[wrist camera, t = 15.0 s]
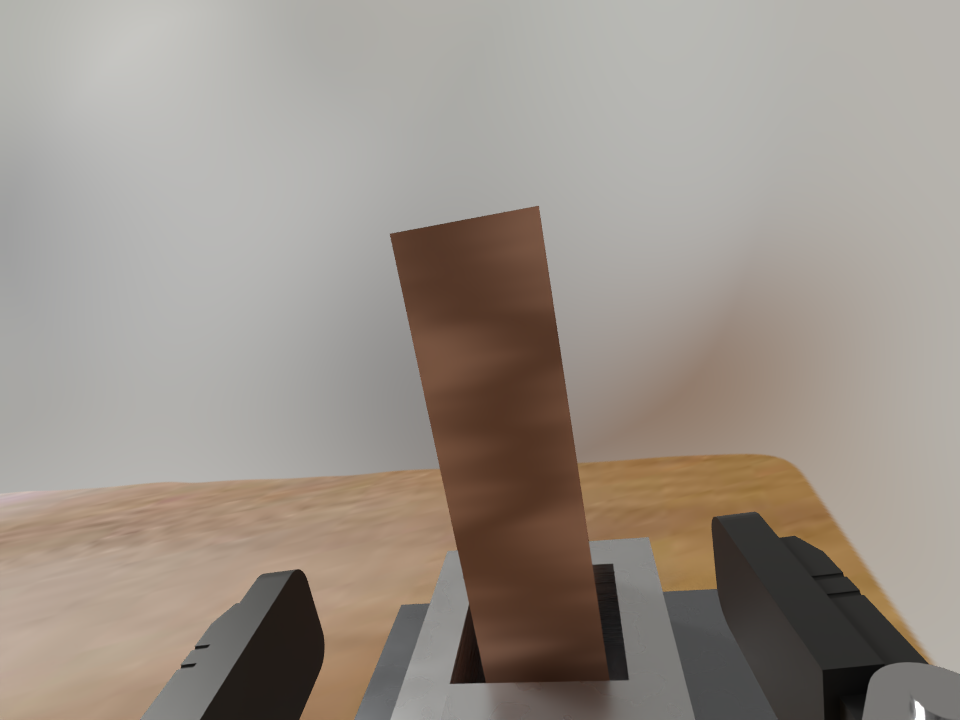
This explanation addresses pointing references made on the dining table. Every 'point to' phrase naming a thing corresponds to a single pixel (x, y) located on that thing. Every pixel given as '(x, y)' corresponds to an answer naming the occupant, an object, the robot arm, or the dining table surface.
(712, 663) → the socket base
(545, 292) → the square peg
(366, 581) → the dining table surface
